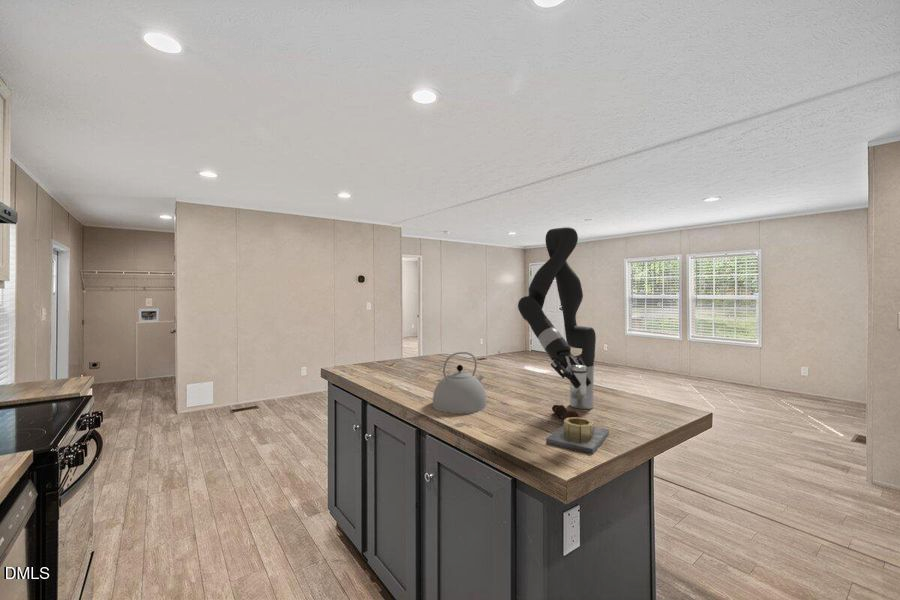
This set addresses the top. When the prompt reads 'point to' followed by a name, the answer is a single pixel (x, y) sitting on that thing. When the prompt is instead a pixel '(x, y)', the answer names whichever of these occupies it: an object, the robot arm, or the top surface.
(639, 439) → the top surface
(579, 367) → the cylinder
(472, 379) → the kettle
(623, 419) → the top surface
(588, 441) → the square base with ring
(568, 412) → the bolt
